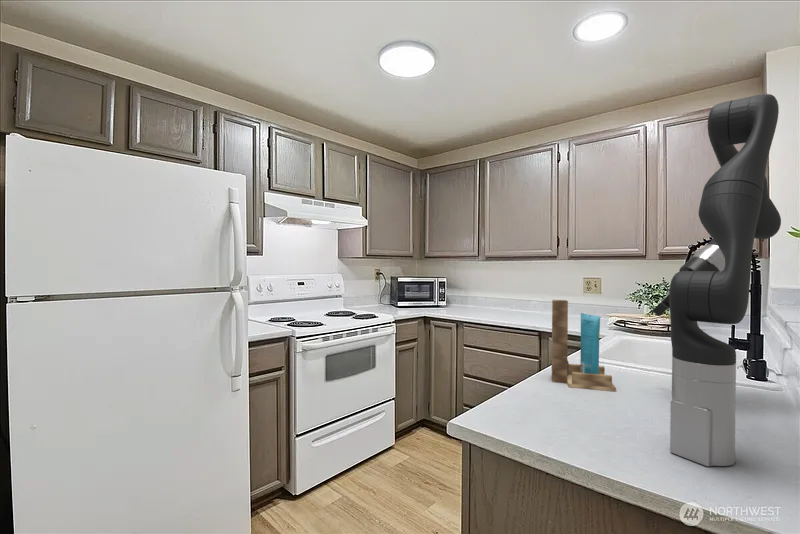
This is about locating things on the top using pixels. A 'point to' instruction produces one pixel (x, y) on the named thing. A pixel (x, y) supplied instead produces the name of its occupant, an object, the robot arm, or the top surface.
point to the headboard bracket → (560, 364)
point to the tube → (590, 343)
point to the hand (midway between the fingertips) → (660, 309)
